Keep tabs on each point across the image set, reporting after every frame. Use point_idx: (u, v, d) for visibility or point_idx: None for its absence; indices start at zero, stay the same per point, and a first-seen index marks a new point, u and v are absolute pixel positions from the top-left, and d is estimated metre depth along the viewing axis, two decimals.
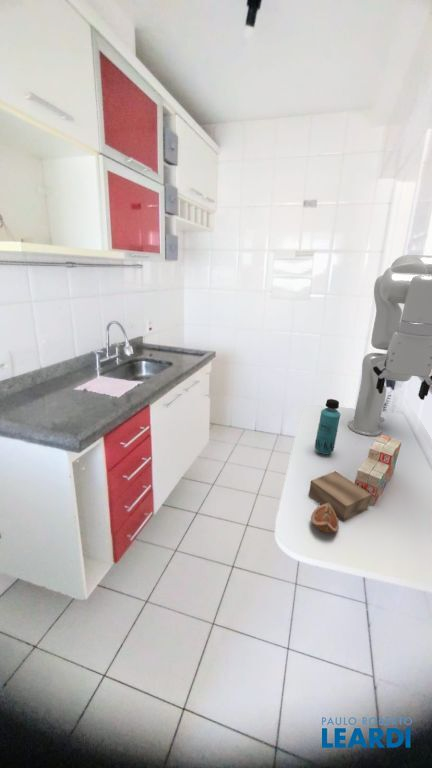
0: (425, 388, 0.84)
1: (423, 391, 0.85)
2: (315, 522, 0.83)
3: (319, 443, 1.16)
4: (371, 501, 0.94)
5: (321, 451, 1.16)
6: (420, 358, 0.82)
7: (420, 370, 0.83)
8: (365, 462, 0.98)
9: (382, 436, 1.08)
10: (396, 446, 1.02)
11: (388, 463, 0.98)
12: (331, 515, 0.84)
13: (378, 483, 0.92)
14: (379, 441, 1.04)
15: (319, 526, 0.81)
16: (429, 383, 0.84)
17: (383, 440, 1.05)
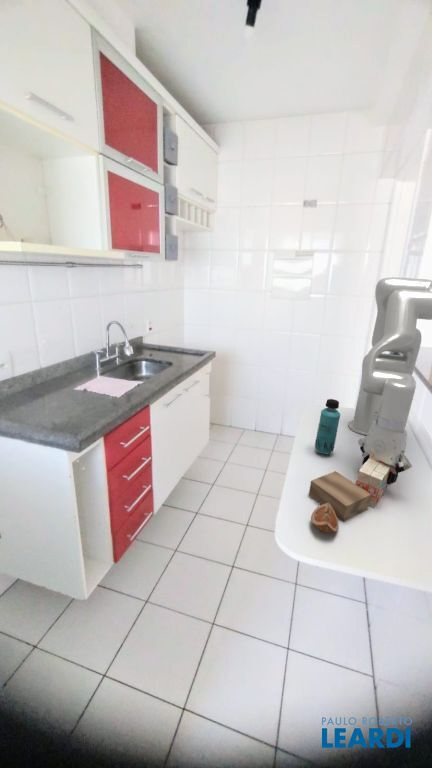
0: None
1: None
2: (315, 522, 0.83)
3: (319, 443, 1.16)
4: (372, 502, 0.93)
5: (321, 451, 1.16)
6: None
7: None
8: (366, 463, 0.97)
9: None
10: None
11: None
12: (331, 515, 0.84)
13: (379, 484, 0.91)
14: None
15: (319, 526, 0.81)
16: None
17: None
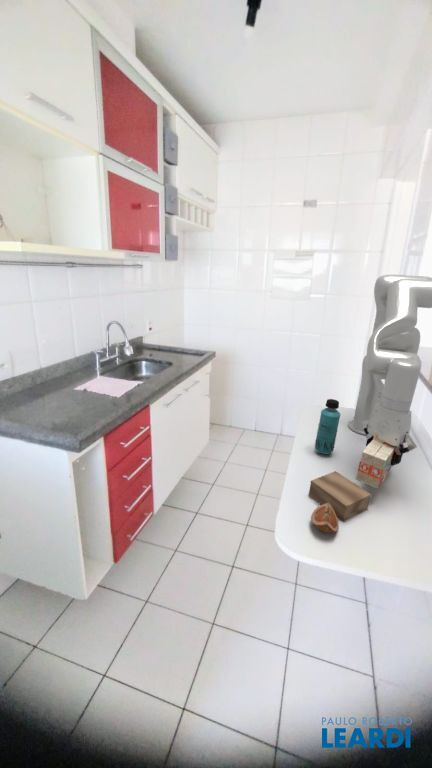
0: None
1: None
2: (315, 522, 0.83)
3: (319, 443, 1.16)
4: (376, 483, 0.92)
5: (321, 451, 1.16)
6: None
7: None
8: (370, 444, 0.96)
9: None
10: None
11: None
12: (331, 515, 0.84)
13: (383, 465, 0.90)
14: None
15: (319, 526, 0.81)
16: None
17: None
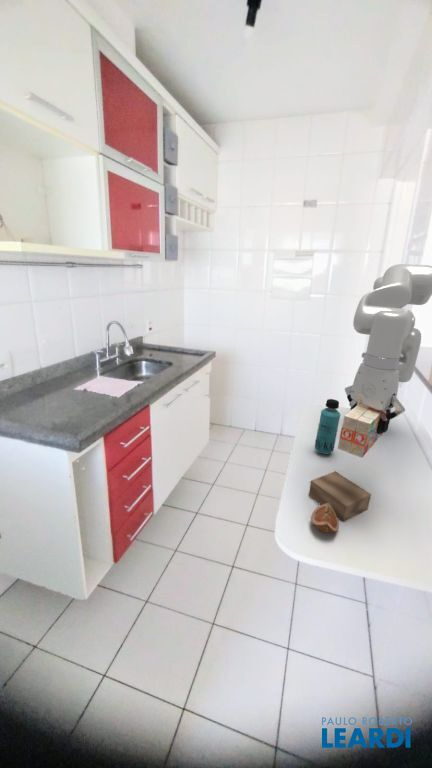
0: None
1: None
2: (315, 522, 0.83)
3: (319, 443, 1.16)
4: (360, 452, 0.81)
5: (321, 451, 1.16)
6: None
7: None
8: (353, 409, 0.85)
9: None
10: None
11: None
12: (331, 515, 0.84)
13: (367, 429, 0.79)
14: None
15: (319, 526, 0.81)
16: None
17: None
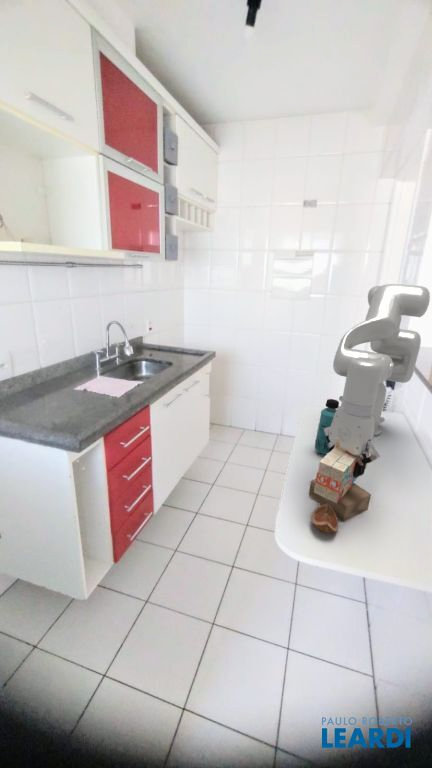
0: None
1: None
2: (315, 522, 0.83)
3: (319, 443, 1.16)
4: (334, 497, 0.82)
5: (321, 451, 1.16)
6: None
7: None
8: (330, 453, 0.86)
9: None
10: None
11: None
12: (331, 515, 0.84)
13: (341, 477, 0.80)
14: None
15: (319, 526, 0.81)
16: None
17: None
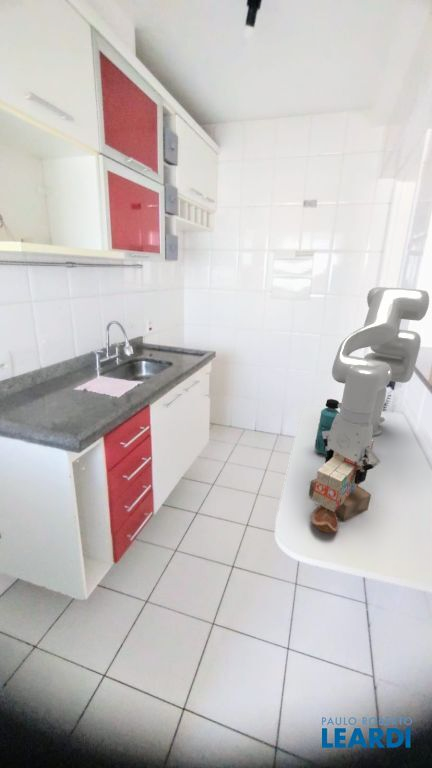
0: None
1: None
2: (315, 522, 0.83)
3: (319, 443, 1.16)
4: (332, 506, 0.83)
5: (321, 451, 1.16)
6: None
7: None
8: (328, 462, 0.87)
9: None
10: None
11: (354, 464, 0.87)
12: (331, 515, 0.84)
13: (339, 486, 0.81)
14: None
15: (319, 526, 0.81)
16: None
17: None
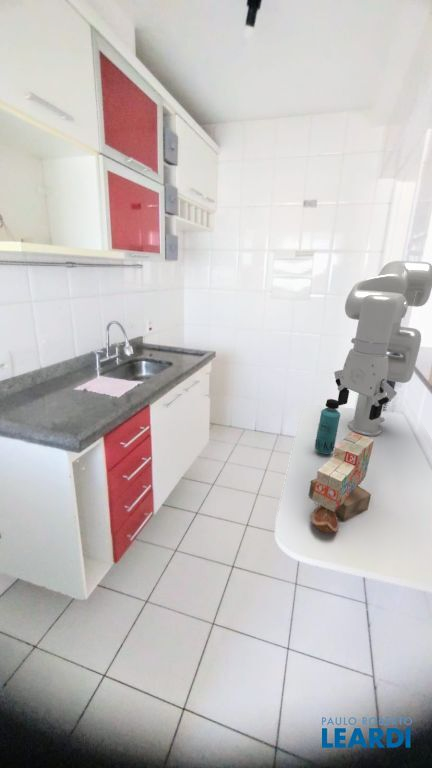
0: None
1: (347, 396, 0.92)
2: (315, 522, 0.83)
3: (319, 443, 1.16)
4: (332, 506, 0.83)
5: (321, 451, 1.16)
6: None
7: None
8: (328, 462, 0.87)
9: (353, 434, 0.97)
10: (366, 445, 0.91)
11: (354, 464, 0.87)
12: (331, 515, 0.84)
13: (339, 486, 0.81)
14: (348, 439, 0.93)
15: (319, 526, 0.81)
16: None
17: (352, 439, 0.94)
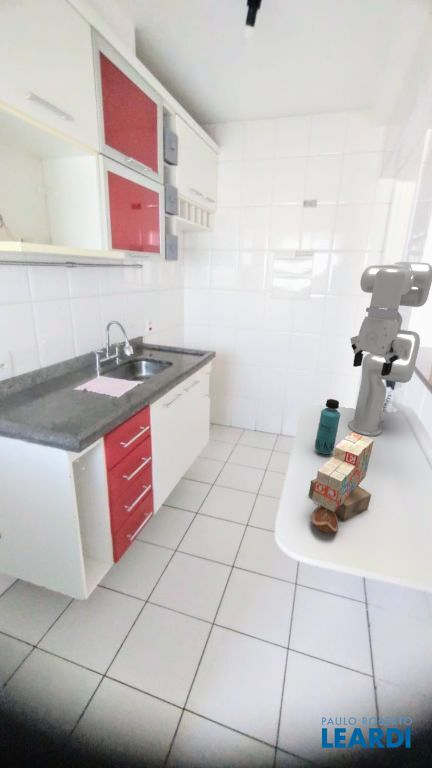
0: None
1: None
2: (315, 522, 0.83)
3: (319, 443, 1.16)
4: (332, 506, 0.83)
5: (321, 451, 1.16)
6: None
7: None
8: (328, 462, 0.87)
9: (353, 434, 0.97)
10: (366, 445, 0.91)
11: (354, 464, 0.87)
12: (331, 515, 0.84)
13: (339, 486, 0.81)
14: (348, 439, 0.93)
15: (319, 526, 0.81)
16: None
17: (352, 439, 0.94)
